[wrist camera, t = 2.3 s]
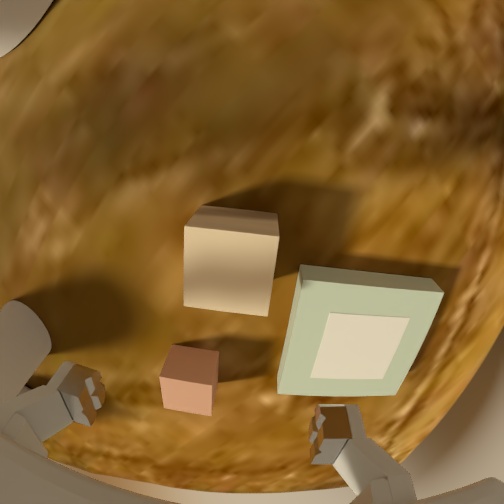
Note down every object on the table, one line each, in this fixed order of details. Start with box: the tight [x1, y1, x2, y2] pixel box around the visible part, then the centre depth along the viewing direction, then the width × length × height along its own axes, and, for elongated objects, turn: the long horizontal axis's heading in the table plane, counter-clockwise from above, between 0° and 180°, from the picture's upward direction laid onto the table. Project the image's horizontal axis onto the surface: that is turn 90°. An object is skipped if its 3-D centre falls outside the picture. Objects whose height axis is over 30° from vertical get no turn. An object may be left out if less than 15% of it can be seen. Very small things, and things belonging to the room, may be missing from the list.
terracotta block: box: [159, 344, 219, 416], centre depth 26 cm, size 4×4×4 cm
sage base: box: [277, 264, 444, 396], centre depth 25 cm, size 12×12×2 cm
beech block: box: [184, 205, 279, 316], centre depth 21 cm, size 6×6×5 cm
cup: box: [0, 300, 51, 403], centre depth 23 cm, size 8×8×12 cm
